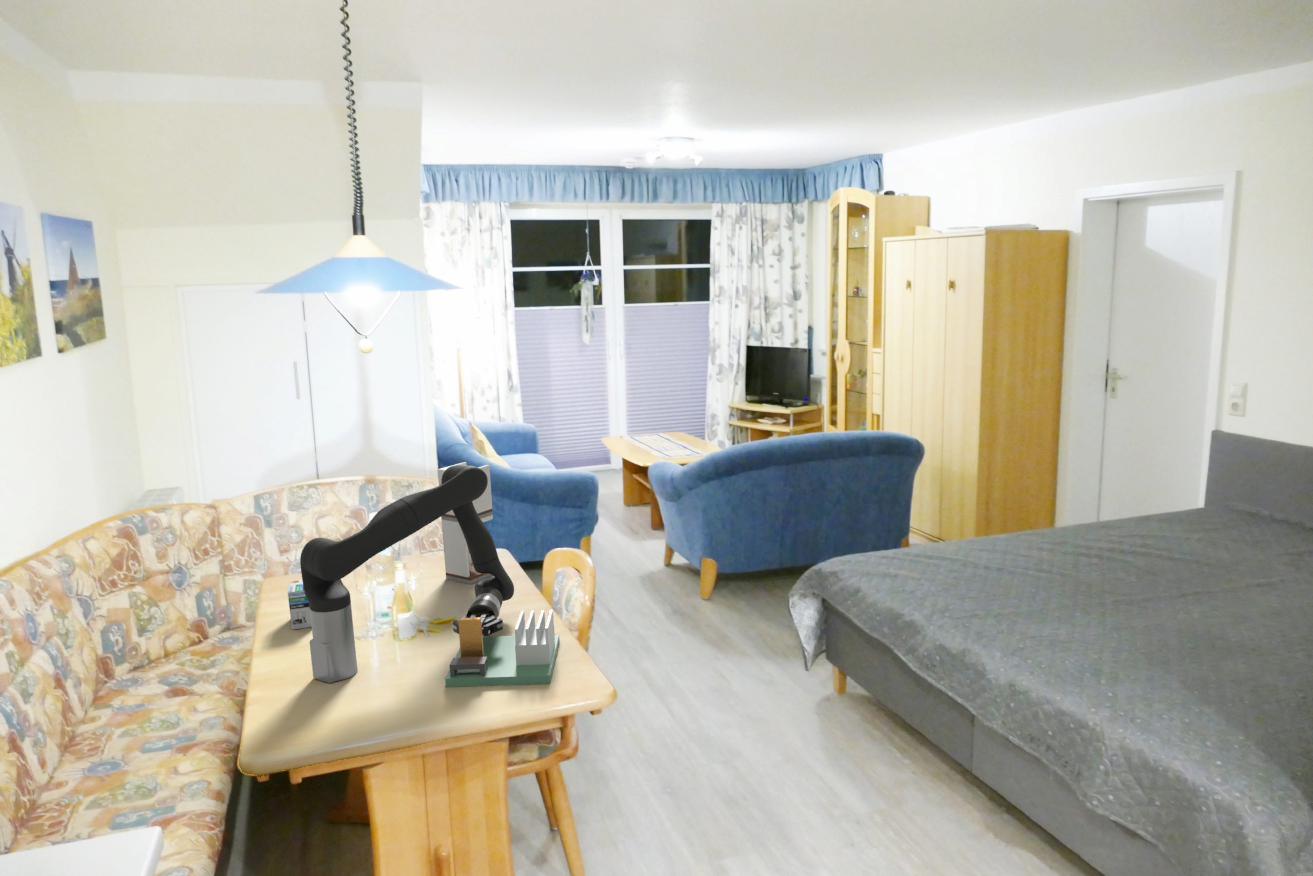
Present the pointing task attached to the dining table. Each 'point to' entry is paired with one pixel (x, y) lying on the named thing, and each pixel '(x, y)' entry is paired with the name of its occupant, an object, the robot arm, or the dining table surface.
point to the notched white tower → (454, 540)
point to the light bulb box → (298, 605)
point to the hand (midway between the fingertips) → (471, 639)
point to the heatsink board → (511, 656)
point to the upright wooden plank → (470, 639)
